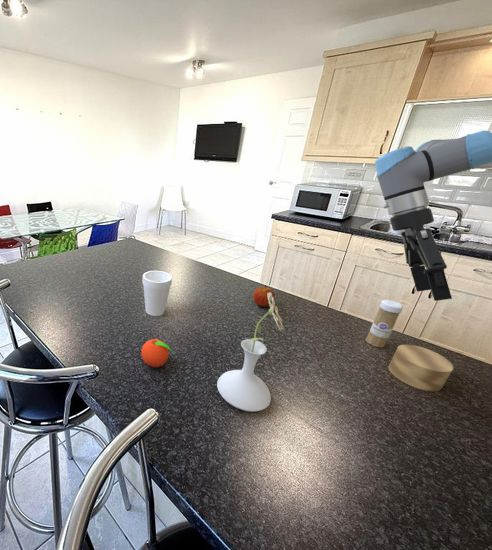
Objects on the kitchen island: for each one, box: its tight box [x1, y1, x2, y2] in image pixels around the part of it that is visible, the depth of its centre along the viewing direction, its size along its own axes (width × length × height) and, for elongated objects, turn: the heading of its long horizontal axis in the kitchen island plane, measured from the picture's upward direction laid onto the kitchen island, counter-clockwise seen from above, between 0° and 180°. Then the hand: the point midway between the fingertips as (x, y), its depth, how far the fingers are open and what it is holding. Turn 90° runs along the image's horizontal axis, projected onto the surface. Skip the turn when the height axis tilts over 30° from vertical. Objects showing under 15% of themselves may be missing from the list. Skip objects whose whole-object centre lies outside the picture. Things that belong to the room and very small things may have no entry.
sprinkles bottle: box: [365, 299, 404, 348], centre depth 83 cm, size 5×5×13 cm
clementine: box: [140, 338, 174, 368], centre depth 74 cm, size 8×7×7 cm
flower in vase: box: [216, 292, 285, 413], centre depth 62 cm, size 13×11×25 cm
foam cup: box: [142, 270, 173, 317], centre depth 97 cm, size 10×9×13 cm
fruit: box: [252, 284, 276, 308], centre depth 103 cm, size 7×7×8 cm
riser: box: [388, 344, 454, 392], centre depth 72 cm, size 10×10×6 cm
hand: (432, 294), depth 72 cm, fingers open, 13 cm apart
